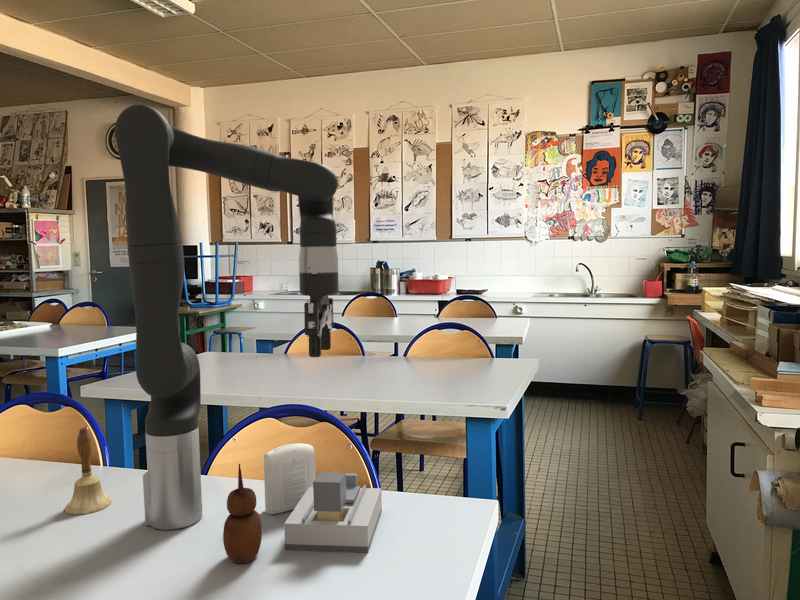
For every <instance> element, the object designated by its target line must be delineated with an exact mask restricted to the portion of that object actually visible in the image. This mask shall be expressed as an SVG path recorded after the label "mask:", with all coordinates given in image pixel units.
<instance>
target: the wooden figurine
mask: <svg viewBox="0 0 800 600" xmlns="http://www.w3.org/2000/svg"><path fill="white" fill-rule="evenodd" d="M237 473H238V474H237V475H238V477H237V478H238V480H237V488H235V489H233V490H231V491H230V492H229V493H228V496H227V500H226V508H227V511H228V514H229V515H228V516H227V517H226V519H225V521H224V525H223V534H222V541H223V542H222V543H223V548H224V551H225V553H226V556H227V557H228V559H229V560H230V561H232V562H233V563H236V564H243V563H244V564H245V563H248V562H250V561H252V560H253V559H255V558H256V556H258V554H259V551H260V548H261V544H262V540H263V539H262V538H263V523H262V522H263V521H262V517H261V515H260V514H259V512H257V511H256V510H255V509H256V507H257V496H256V495H257V494H256V493H255V491H254V490H253V489H252V488H250V487H244V483H243V476H242V468H241V464H240V463H238V472H237Z"/></svg>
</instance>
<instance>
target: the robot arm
mask: <svg viewBox="0 0 800 600" xmlns="http://www.w3.org/2000/svg"><path fill="white" fill-rule="evenodd" d="M114 138H115V142H116V143H115V144H116V146H117V151H118V155H119V160H120V166H121V171H122V175H123V176H122V177H123V182H124V192H125V225H126V245H127V255H128V256H127V257H128V267H129V273H130V281H131V290H132V300H133V306H134V314H135V326H136V327H135V329H136V330H135V331H136V332H135V335H136V336H135V343H136V344H135V372H136V373H135V375H136V379H137V382H138V384H139V385H140V388H141V389H142V390H143V391H144V392H145V393H146V394H147V395H149V396H150V403H149V408H148V411H147V413H146V415H145V419H144V423H145V424H144V426H145V427H144V429H145V446H146V447H145V448H146V462H147V463H146V464H147V465H146V466H147V467H146V468H147V471H146V472H145V473H144V474H142V486H143V503H144V504H143V508H144V524H145V526H151V528H153V529H157V530H160V531H161V530H162V531H163V530H164V531H167V530H169V531H171V530H178V529H182V528H186V527H189V526H192V525H193V524H195V523H197V522H199V521H200V520H201V519H202V517H203V501H202V500H203V497H202V496H203V495H202V492H203V491H202V477H201V476H202V474H201V454H200V453H201V451H200V450H201V449H200V435H199V416H200V413H201V412H200V410H201V397H202V395H201V393H202V391H201V367H200V361H199V358H198V355H197V353H196V351H195V350H194V349H193V348H192V347H191V346H190V345H188V344H186V343H184V342H182V340H181V334H180V324H179V315H180V314H179V313H180V311H179V310H180V305H181V301H182V300H181V299H182V293H183V287H184V283H185V282H184V280H185V256H184V247H183V246H184V245H183V244H184V242H183V238H182V232H181V227H180V226H181V225H180V221H179V217H178V213H177V210H176V206H175V202H174V200H173V198H174V197H173V196H172V195H173V194H172V190H171V185H170V168H169V167H175V168H180V169H181V168H182V169H187V170H192V171H197V172H203V173H206V174H209V175H214V176H216V177H221V178H224V179H227V180H230V181H234V182H237V183H239V184H242V185H243V184H244V185H247V186H251V187H255V188H258V189H262V190H265V191H270V192H274V193H278V192H280V193H281V192H283V193H287V194H291V195H294V196H297V197H298V199H297V200H298V207H299V208H298V209H299V218H300V224H299V246H300V247H299V255H298V256H299V257H298V265H299V266H298V269H299V271H298V272H299V275H298V277H299V294H300V295H301V296H308V297H309V302H305V303H304V306H303V308H304V312H303V313H304V318H303V319H304V331H303V333H304V335H305V336H307V338H308V356H309V357H310V358H319V357H321V356H322V351H330V349H331V348H332V344H331V343H332V337H331V335H332V330H333V328H334V325H335V323H334V299H333V298H332V297H329V296H336V295H338V294H339V292H340V291H339V287H340V285H339V257H338V247H337V225H336V224H337V223H336V220H335V218H334V195H335V194H336V192H337V190H338V184H339V183H338V182H339V181H338V178H337V175H336V174H335V172H334V171H333V169H331V168H330V167H328V166H327V165H324V164H322V163H319V162H315V161H311V160H305V159H298V158H294V157H293V158H292V157H286V156H283V155H280V154H279V153H276V152H271V151H268V150H265V149H262V148H258V147H253V146H249V145H245V144H239V143H233V142H225V141H219V140H213V139H209V138H205V137H200V136H198V135H195V134H191V133H189V132H187V131H184V130H181V129H179V128H177V127H175V126H172V125H170V123H169V122H168V120H167V119H166V118H165V116H164V115H163V114H162V113H161V112H160V111H158V109H156V108H154V107H152V106H150V105H147V104H140V103H137V104H136V103H135V104H133V105H130V106H127V107H126V108H124V109H123V110H122V111H121V112H120V113H119V115H118V117H117V119H116V121H115V124H114Z"/></svg>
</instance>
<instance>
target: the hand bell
mask: <svg viewBox="0 0 800 600" xmlns="http://www.w3.org/2000/svg"><path fill="white" fill-rule="evenodd" d="M78 432H79V433H78V435H77V440H76V446H77V451H78V455H79V456H80V461H81V477H79V478H77V479H76V480H75V482H74V486H73V493H72V497H71V499H70V501H69V502H68V503H67V504H66V505H65V508H64V512H65V513H66V514H68V515H72V514H73V516H74V515H75V516H77V515H78V516H79V515H82V514H83V515H88V514H89V513H90V514H93V513H97V512H100V511H102V510H104V509H107V507H110V505H111V504H112V499H111V498H110V497H109V496H107V495H106V494H105V492H104V491H103V488H102V485H101V479H100V478H99V476H95V475H93V473H92V466H91V455H92V450H93V441H92V437H91V434H90V432H89V430H88V427H86V426H85V427H80V428H79V431H78Z"/></svg>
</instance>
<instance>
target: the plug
mask: <svg viewBox="0 0 800 600" xmlns="http://www.w3.org/2000/svg"><path fill="white" fill-rule="evenodd" d="M313 495H314V511H318V521H336V522H343V521H344V516H343V507H344V505H345V503H346V501H347V500H346V472H334V471H333V472H330V471H326V472H324V471H323V472H322V471H320V472H319V473H318V474H317V475H316V478H315V480H314V481H313Z"/></svg>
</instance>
